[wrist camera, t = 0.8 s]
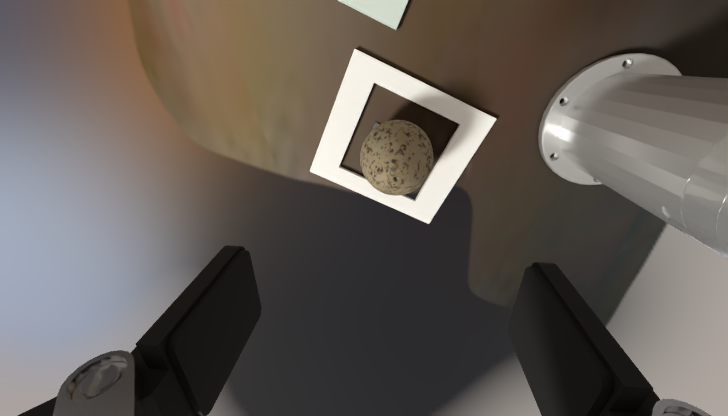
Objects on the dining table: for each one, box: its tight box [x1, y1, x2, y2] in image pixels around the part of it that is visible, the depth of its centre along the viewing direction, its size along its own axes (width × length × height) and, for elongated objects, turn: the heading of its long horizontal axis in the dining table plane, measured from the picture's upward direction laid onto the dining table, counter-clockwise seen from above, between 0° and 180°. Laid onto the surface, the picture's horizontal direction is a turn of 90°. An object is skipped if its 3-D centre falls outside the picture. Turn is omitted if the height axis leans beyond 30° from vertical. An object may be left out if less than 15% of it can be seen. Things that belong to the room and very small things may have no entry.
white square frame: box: [310, 49, 496, 224], centre depth 33 cm, size 16×14×1 cm
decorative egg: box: [360, 120, 433, 196], centre depth 28 cm, size 7×7×10 cm
